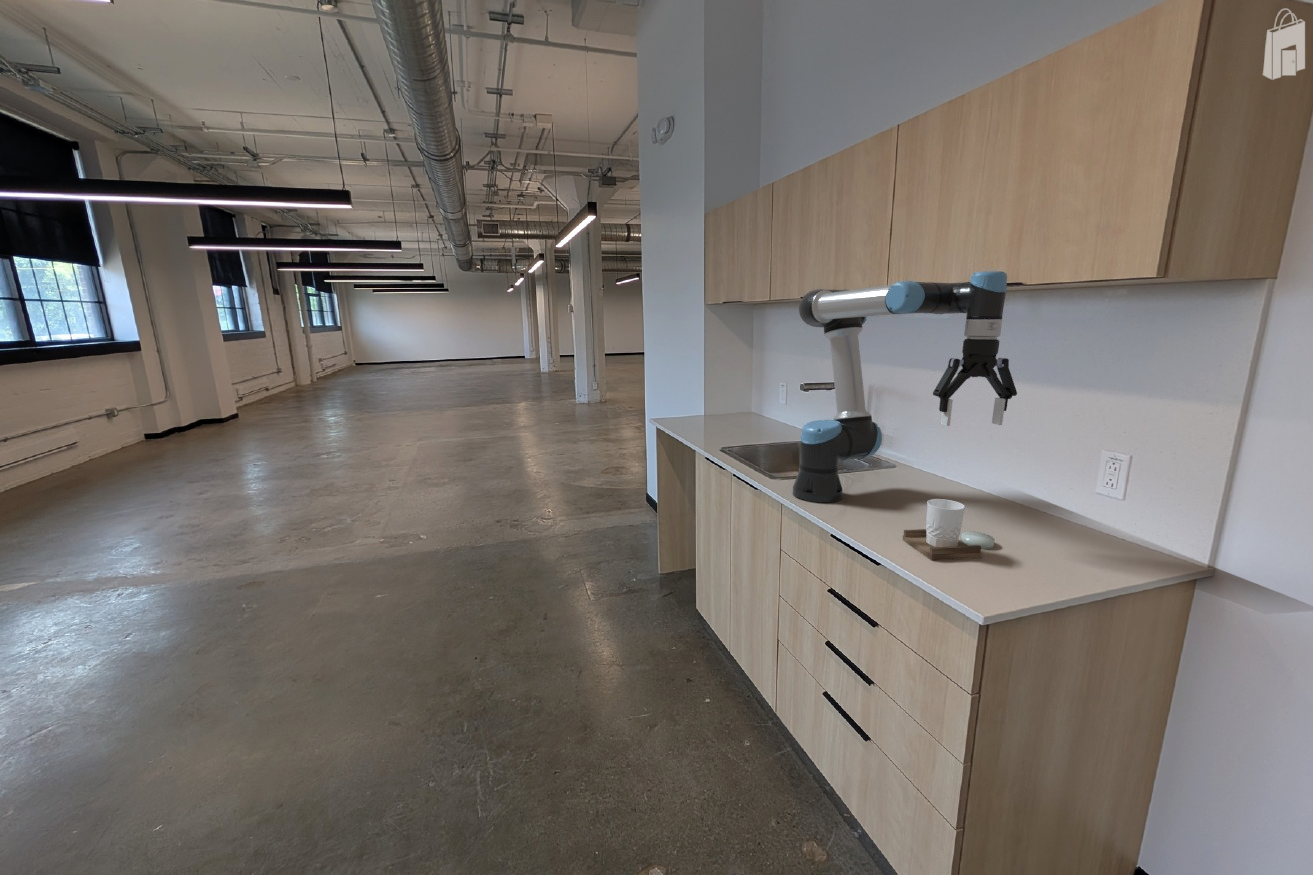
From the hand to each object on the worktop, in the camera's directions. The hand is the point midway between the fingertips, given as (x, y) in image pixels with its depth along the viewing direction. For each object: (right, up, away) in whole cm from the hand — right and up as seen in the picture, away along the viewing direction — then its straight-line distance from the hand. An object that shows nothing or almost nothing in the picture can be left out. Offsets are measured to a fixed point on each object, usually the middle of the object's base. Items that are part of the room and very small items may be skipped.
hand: (970, 424), depth 135 cm
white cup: (-10, -29, -5) cm, 31 cm away
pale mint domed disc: (0, -30, -2) cm, 30 cm away
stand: (-11, -30, -5) cm, 32 cm away
